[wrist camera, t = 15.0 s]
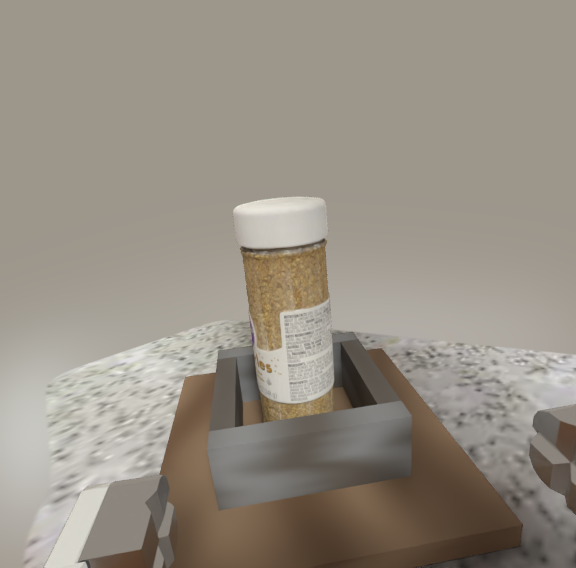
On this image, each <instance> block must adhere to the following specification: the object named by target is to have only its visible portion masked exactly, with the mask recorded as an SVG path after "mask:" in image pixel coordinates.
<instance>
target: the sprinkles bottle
mask: <svg viewBox="0 0 576 568" xmlns="http://www.w3.org/2000/svg"><path fill="white" fill-rule="evenodd" d="M233 217H234V226H235V234H236V240H237V244H239V245H240V246H241V248H240V250H241V254H242V255H243V264H244V270H245V279H246V284H247V285H246V287H247V295H248V302H249V318H250V326H251V334H252V341H253V350H254V357H255V366H256V375H257V383H258V387H259V390H260V397H261V405H262V414H263V422H262V423H265V422H271V421H278V420H284V419H290V418H296V417H302V416H309V415H315V414H321V413H327V412H334V411H335V410H334V390H333V384H334V365H333V345H332V328H331V313H330V296H329V293H328V285H327V283H328V282H327V270H326V252H325V245H326V243H327V240H325V239H324V238H325V237H326V236H327V234H328V224H327V212H326V203H325V201H324V200H323V199H321V198H317V197H316V198H315V197H283V198H274V199H266V200H259V201H255V202H250V203H246V204H242V205H239V206H237V207H236V208H235V209H234V211H233Z"/></svg>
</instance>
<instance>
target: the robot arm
mask: <svg viewBox="0 0 576 568" xmlns="http://www.w3.org/2000/svg"><path fill="white" fill-rule="evenodd" d="M533 428H534V429H535V430H536V432H537V433H538V434H537V435H536V436H535V437H534V439H533V440H532V441H531V443H530V453H529V456H530V459H531V462H532V465H533V468H534V470H535V471H536V473H537V474H538V476H539V477H540V479H541V480H542V481H543V482H544V483H545V484H546V485H547V486H548V487H549V488H550V489H552V490H554V491H556V492H558V493H560V494H562V495H564V496H565V498H566V503H567V507H568V508H569V509H570V510H571V511H572V512H573V513H574V514H575V515H576V404H574V405H568V406H563V407H557V408H552V409H546V410H540V411H538V412H537V413H536V415H535V416H534V419H533ZM169 492H170V487H169V484H168V480H167V477H166V476H165V475H157V476H150V477H143V478H136V479H129V480H122V481H115V482H113V483H106V484H99V485H91V486H87V487H86V488H85V489H84V490H83V491H82V492H81V493H80V495H79V497H78V499H77V501H76V503H75V505H74V507H73V509H72V511H71V513H70V515H69V517H68V519H67V521H66V523H65V525H64V527H63V529H62V531H61V533H60V535H59V537H58V539H57V541H56V543H55V545H54V547H53V549H52V551H51V553H50V555H49V557H48V559H47V561H46V563H45V565H44V567H43V568H169V567H170V565H171V564H172V563H173V561H174V560H175V555H176V548H177V529H178V527H177V518H176V512H175V508H174V506H173V505H172V504H171V503H169V502H168V496H169Z"/></svg>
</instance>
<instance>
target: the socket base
mask: <svg viewBox="0 0 576 568" xmlns="http://www.w3.org/2000/svg"><path fill="white" fill-rule="evenodd" d="M332 345H333V365H334V384H333V390H334V410H335V411H334V412H327V413H321V414H315V415H309V416H302V417H296V418H290V419H284V420H278V421H271V422H265V423H262V422H263V414H262V405H261V397H260V390H259V387H258V383H257V375H256V366H255V357H254V350H253V346H249V347H242V348H234V349H227V350H220V351H218V360H217V368H216V373H210V374H203V375H196V376H189V377H185V380H184V384H183V388H182V391H181V395H180V399H179V403H178V407H177V410H176V414H175V418H174V422H173V426H172V429H171V433H170V437H169V441H168V444H167V448H166V452H165V456H164V460H163V463H162V467H161V471H160V475H165V476H166V477H167V480H168V484H169V487H170V492H169V496H168V502H169V503H171V504H172V505H173V506H174V508H175V512H176V518H177V527H178V529H177V548H176V555H175V560H174V561H173V563H172V564H171V565H170V567H169V568H415V567H420V566H425V565H429V564H434V563H439V562H444V561H449V560H454V559H459V558H464V557H469V556H473V555H478V554H483V553H488V552H493V551H498V550H503V549H508V548H513V547H518V546H520V543H521V535H522V528H523V524H522V523H521V522H520V520H519V519H518V518H517V517H516V515H515V514H514V513H513V512H512V510H511V509H510V508H509V507H508V505H507V504H506V503H505V502H504V501H503V499H502V498H501V497H500V496H499V494H498V493H497V492H496V491H495V489H494V488H493V487H492V486H491V484H490V483H489V482H488V481H487V479H486V478H485V477H484V476H483V474H482V473H481V472H480V471H479V469H478V468H477V467H476V466H475V464H474V463H473V462H472V461H471V459H470V458H469V457H468V456H467V454H466V453H465V452H464V451H463V449H462V448H461V447H460V446H459V444H458V443H457V442H456V441H455V439H454V438H453V437H452V436H451V434H450V433H449V432H448V431H447V429H446V428H445V427H444V426H443V424H442V423H441V422H440V421H439V419H438V418H437V417H436V416H435V414H434V413H433V412H432V411H431V409H430V408H429V407H428V406H427V404H426V403H425V402H424V401H423V399H422V398H421V397H420V396H419V394H418V393H417V392H416V391H415V389H414V388H413V387H412V386H411V384H410V383H409V382H408V381H407V379H406V378H405V377H404V376H403V374H402V373H401V372H400V371H399V369H398V368H397V367H396V366H395V364H394V363H393V362H392V361H391V360H390V358H389V357H388V356H387V355H386V353H385V352H384V351H383V350H382V348H380V349H374V350H367V351H366V350H365V349H364V347H363V346H362V344H361V343H360V341H359V340H358V339H357V337H356V336H355V334H354V333H353V332H348V333H341V334H334V335H332Z"/></svg>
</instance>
